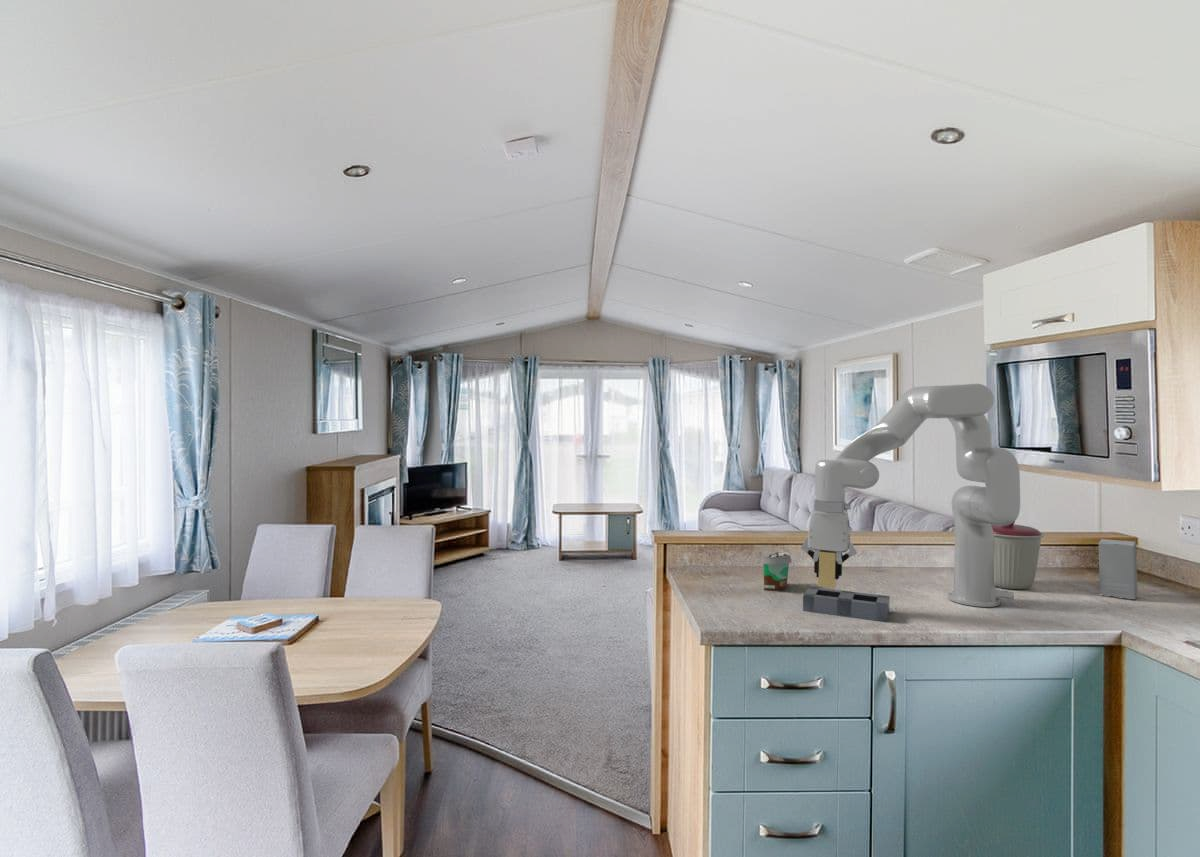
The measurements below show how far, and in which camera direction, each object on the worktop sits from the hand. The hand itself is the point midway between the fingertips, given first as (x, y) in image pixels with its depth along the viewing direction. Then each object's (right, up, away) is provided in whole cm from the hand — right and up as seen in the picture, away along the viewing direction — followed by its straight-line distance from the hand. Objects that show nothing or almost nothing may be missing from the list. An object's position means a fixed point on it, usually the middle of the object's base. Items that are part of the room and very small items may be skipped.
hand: (827, 576), depth 173 cm
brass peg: (0, -2, 0) cm, 2 cm away
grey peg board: (+4, -9, -2) cm, 10 cm away
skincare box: (+88, -9, +15) cm, 90 cm away
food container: (-7, -8, +21) cm, 23 cm away
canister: (+63, -9, +27) cm, 69 cm away
